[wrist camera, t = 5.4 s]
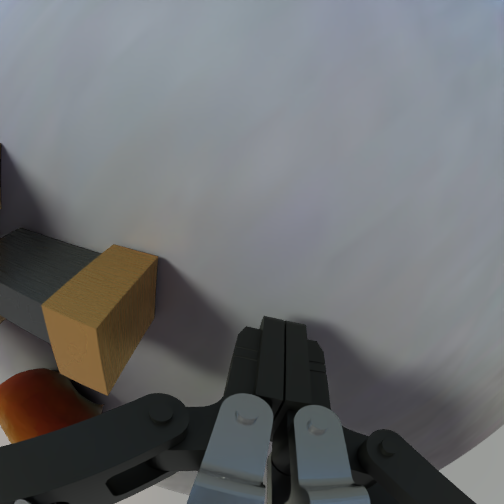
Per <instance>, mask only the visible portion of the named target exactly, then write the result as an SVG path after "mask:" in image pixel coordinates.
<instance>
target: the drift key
mask: <svg viewBox="0 0 504 504" xmlns="http://www.w3.org/2000/svg"><path fill="white" fill-rule="evenodd" d="M157 264H158V256H154V255H151V254H147V253H143V252H140V251H136V250H132V249H129V248H125V247H122V246H118V245H114V244H113V245H112V246H111V247H110V248H108V249H107V250H106V251H104V252H103V253H102V254H100V253H97V252H93V251H90V250H87V249H84V248H80V247H77V246H74V245H71V244H68V243H65V242H62V241H59V240H56V239H52V238H49V237H46V236H43V235H40V234H37V233H34V232H32V231H29V230H26V229H23V228H19V229H17V230H15V231H13V232H12V233H10V234H8V235H6V236H4V237H3V238H1V239H0V315H1V316H2V317H4V318H6V319H7V320H9V321H11V322H12V323H14V324H15V325H17V326H19V327H21V328H22V329H24V330H26V331H27V332H29V333H31V334H33V335H35V336H36V337H38V338H40V339H42V340H44V341H46V342H48V343H50V344H51V346H52V350H53V353H54V356H55V360H56V363H57V366H58V369H59V372H60V374H62V375H64V376H66V377H68V378H70V379H72V380H74V381H76V382H78V383H80V384H82V385H85V386H87V387H89V388H91V389H93V390H96V391H98V392H100V393H102V394H105V395H107V396H108V395H109V393H110V391H111V390H112V388H113V386H114V384H115V383H116V381H117V379H118V377H119V376H120V374H121V372H122V371H123V369H124V367H125V365H126V364H127V362H128V360H129V359H130V357H131V355H132V354H133V352H134V350H135V349H136V347H137V345H138V344H139V342H140V340H141V339H142V337H143V336H144V334H145V332H146V331H147V329H148V327H149V326H150V324H151V323H152V321H153V319H154V315H155V294H156V278H157Z"/></svg>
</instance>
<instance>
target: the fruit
mask: <svg viewBox="0 0 504 504" xmlns="http://www.w3.org/2000/svg"><path fill="white" fill-rule="evenodd" d="M103 405H104V404H102V405H100V404H95V403H93V402H91V401H89V400H87V399H86V398H85V397H83V396H82V395H81V394H79V393H78V392H77V390H76V389H75V388H74V386H73V385H72V383H71V382H70V380H69V378H68V377H66V376H64V375H62V374H60V372H56V371H52V370H49V369H45V368H41V369H33V370H27V371H25V372H21V373H18V374H16V375H14V376H12V377H11V378H9V379H8V380H6V381H5V382H3V383H2V384H1V385H0V425H1V427H2V429H3V430H4V432H5V434H6V436H7V437H8V439H9V441H10V442H11V444H13V443H17V442H20V441H24V440H27V439H31V438H34V437H37V436H40V435H43V434H47V433H50V432H53V431H56V430H59V429H62V428H65V427H67V426H70V425H73V424H76V423H79V422H81V421H84V420H87V419H90V418H92V417H95V416H97V415H100V414H102V410H103Z"/></svg>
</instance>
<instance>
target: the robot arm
mask: <svg viewBox="0 0 504 504" xmlns="http://www.w3.org/2000/svg"><path fill="white" fill-rule="evenodd" d="M324 364H325V360H324V353H323V351H322V349H321V347H320V346H319V344H318V343H317V341H313V340H308V339H307V332H306V325H304V324H299V323H295V322H290V321H284V320H280V319H276V318H271V317H267V316H264V317H263V319H262V322H261V325H260V328H259V329H255V328H251V327H247V326H246V327H245V328H244V329H243V330H242V331H241V332H240V333H239V334H238V337H237V341H236V345H235V349H234V353H233V357H232V360H231V364H230V369H229V373H228V378H227V382H226V387H225V391H224V396H223V397H222V399H221V400H219V401H218V402H217V403H215V404H212V405H210V406H205V407H185V405H184V404H183V403H182V402H181V401H180V400H178V399H177V398H175V397H173V396H171V395H168V394H162V393H154V394H149V395H146V396H144V397H142V398H139V399H137V400H135V401H132V402H130V403H127V404H125V405H123V406H120V407H118V408H115V409H113V410H110V411H108V412H105V413H103V414H100V415H97V416H95V417H92V418H90V419H87V420H84V421H81V422H79V423H76V424H73V425H70V426H67V427H65V428H62V429H59V430H56V431H53V432H50V433H47V434H43V435H40V436H37V437H34V438H31V439H27V440H24V441H20V442H17V443H13V444H10V445H6V446H2V447H0V504H114V503H117V502H119V501H121V500H123V499H126V498H128V497H130V496H132V495H134V494H136V493H138V492H140V491H142V490H144V489H146V488H148V487H150V486H152V485H154V484H156V483H158V482H160V481H162V480H164V479H166V478H167V477H169V476H171V475H173V474H175V473H176V472H178V471H198V470H199V471H198V473H197V476H196V479H195V482H194V484H193V487H192V490H191V493H190V496H189V499H188V501H187V504H264V499H265V485H264V484H263V476H264V470H265V465H266V459H267V454H268V448H269V442H270V441H271V442H273V443H272V452H271V453H270V455H269V456H268V459H267V504H476V503H475V502H474V501H472V500H471V499H470V498H469V497H468V496H467V495H465V494H464V493H463V492H462V491H461V490H459V489H458V488H457V487H456V486H455V485H454V484H453V483H452V482H450V481H449V480H448V479H447V478H446V477H445V476H443V475H442V474H441V473H440V472H439V471H438V470H437V469H436V468H435V467H433V466H432V465H431V464H430V463H429V462H428V461H427V460H426V459H425V458H423V457H422V456H421V455H420V454H419V453H418V452H417V451H416V450H415V449H414V448H412V447H411V446H410V445H409V444H408V443H407V442H406V441H405V440H404V439H403V438H402V437H401V436H399V435H398V434H397V433H395V432H393V431H390V430H385V429H382V430H377V431H375V432H373V433H372V434H371V435H370V436H366V435H363V434H360V433H357V432H354V431H351V430H349V429H347V428H345V427H343V426H342V425H341V421H340V419H339V418H338V416H337V415H336V414H335V413H334V412H333V411H331V408H330V400H329V391H328V383H327V375H326V368H325V365H324Z"/></svg>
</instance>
